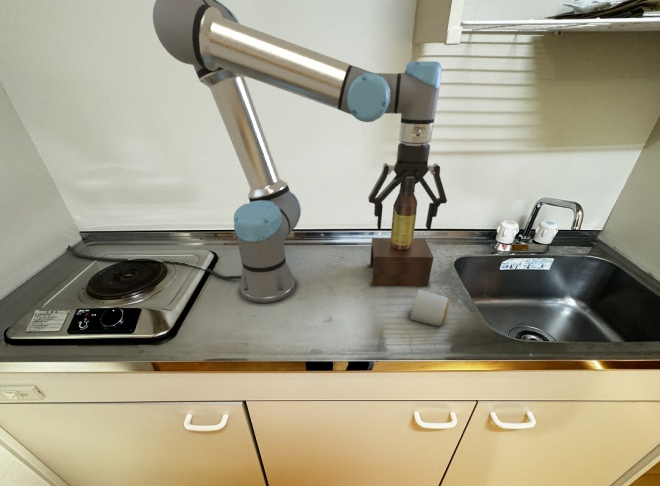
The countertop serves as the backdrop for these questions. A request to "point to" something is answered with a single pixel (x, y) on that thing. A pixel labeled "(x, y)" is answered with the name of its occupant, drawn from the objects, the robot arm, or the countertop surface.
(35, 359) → the countertop surface
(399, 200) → the sauce bottle
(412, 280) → the wooden brown block
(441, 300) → the white cylinder
